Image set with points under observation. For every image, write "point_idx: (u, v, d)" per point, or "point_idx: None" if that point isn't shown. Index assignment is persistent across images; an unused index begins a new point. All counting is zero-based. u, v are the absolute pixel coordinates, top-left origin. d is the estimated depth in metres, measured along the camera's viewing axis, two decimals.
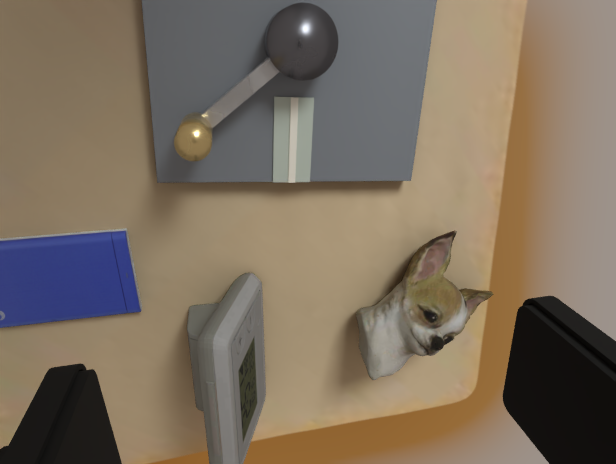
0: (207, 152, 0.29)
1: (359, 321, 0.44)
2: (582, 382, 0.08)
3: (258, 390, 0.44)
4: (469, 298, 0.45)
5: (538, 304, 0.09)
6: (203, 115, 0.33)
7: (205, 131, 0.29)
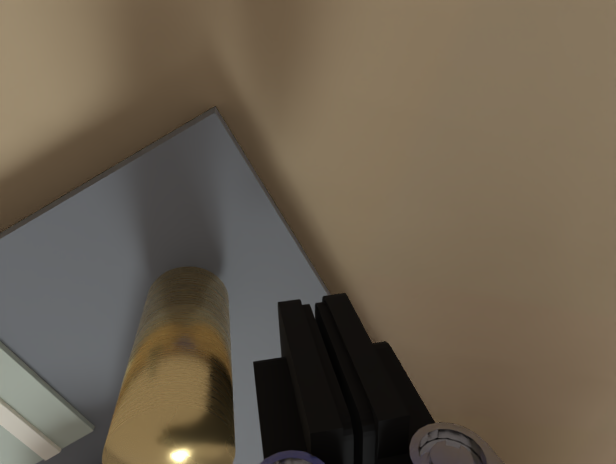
0: (109, 463, 0.08)
1: None
2: (336, 374, 0.09)
3: None
4: None
5: (326, 301, 0.10)
6: None
7: None
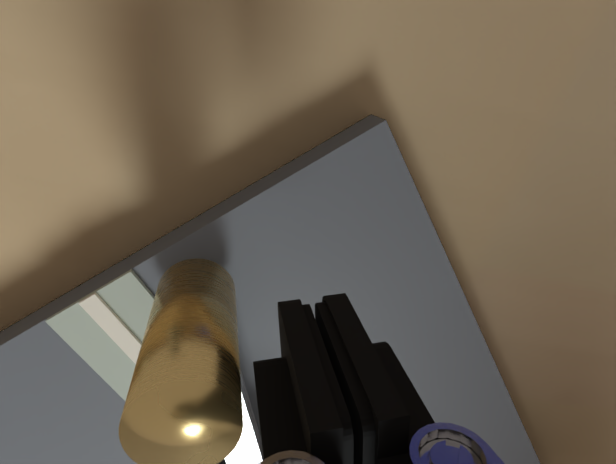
0: (135, 455, 0.09)
1: None
2: (336, 375, 0.09)
3: None
4: None
5: (326, 301, 0.10)
6: None
7: None
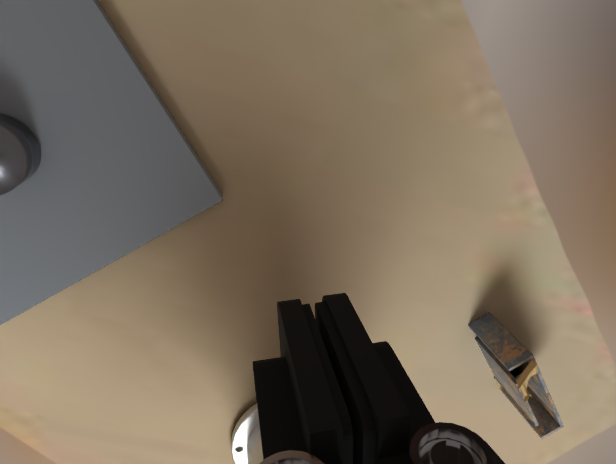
0: None
1: None
2: (336, 374, 0.09)
3: None
4: None
5: (326, 301, 0.10)
6: None
7: None
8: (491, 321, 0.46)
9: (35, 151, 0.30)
